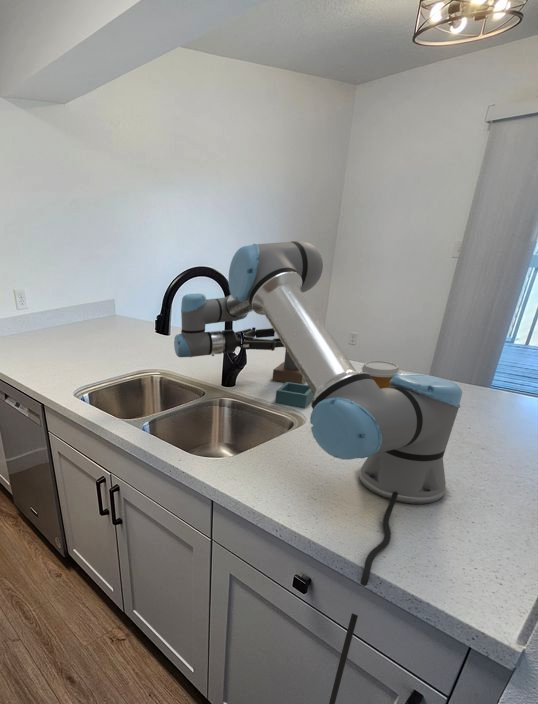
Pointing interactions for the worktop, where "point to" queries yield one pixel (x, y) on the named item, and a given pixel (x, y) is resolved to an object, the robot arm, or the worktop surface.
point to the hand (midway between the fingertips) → (283, 336)
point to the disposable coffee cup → (381, 372)
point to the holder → (294, 394)
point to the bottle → (289, 362)
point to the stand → (287, 375)
